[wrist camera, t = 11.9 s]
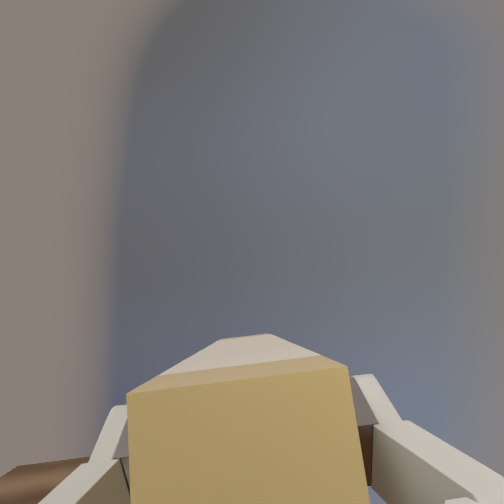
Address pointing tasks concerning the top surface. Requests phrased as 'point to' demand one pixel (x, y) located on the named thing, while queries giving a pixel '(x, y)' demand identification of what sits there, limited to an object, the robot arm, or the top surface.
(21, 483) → the walnut post
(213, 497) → the cream tan bar
